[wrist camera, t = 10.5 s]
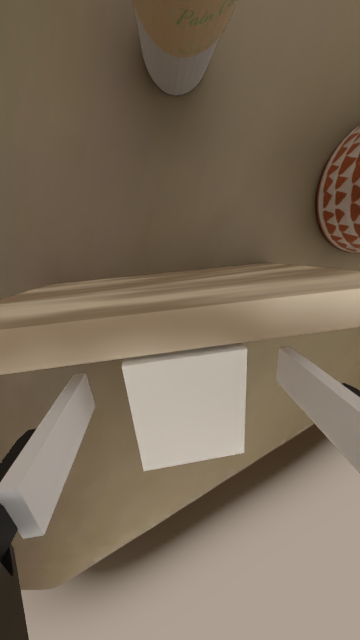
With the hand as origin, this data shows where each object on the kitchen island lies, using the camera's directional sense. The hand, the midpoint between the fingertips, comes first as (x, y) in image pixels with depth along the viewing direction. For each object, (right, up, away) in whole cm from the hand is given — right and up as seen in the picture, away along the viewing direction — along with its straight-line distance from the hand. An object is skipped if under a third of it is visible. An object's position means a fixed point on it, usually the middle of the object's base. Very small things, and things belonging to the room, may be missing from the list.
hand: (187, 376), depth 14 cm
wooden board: (-2, +6, +11) cm, 13 cm away
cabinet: (-1, +2, +5) cm, 6 cm away
